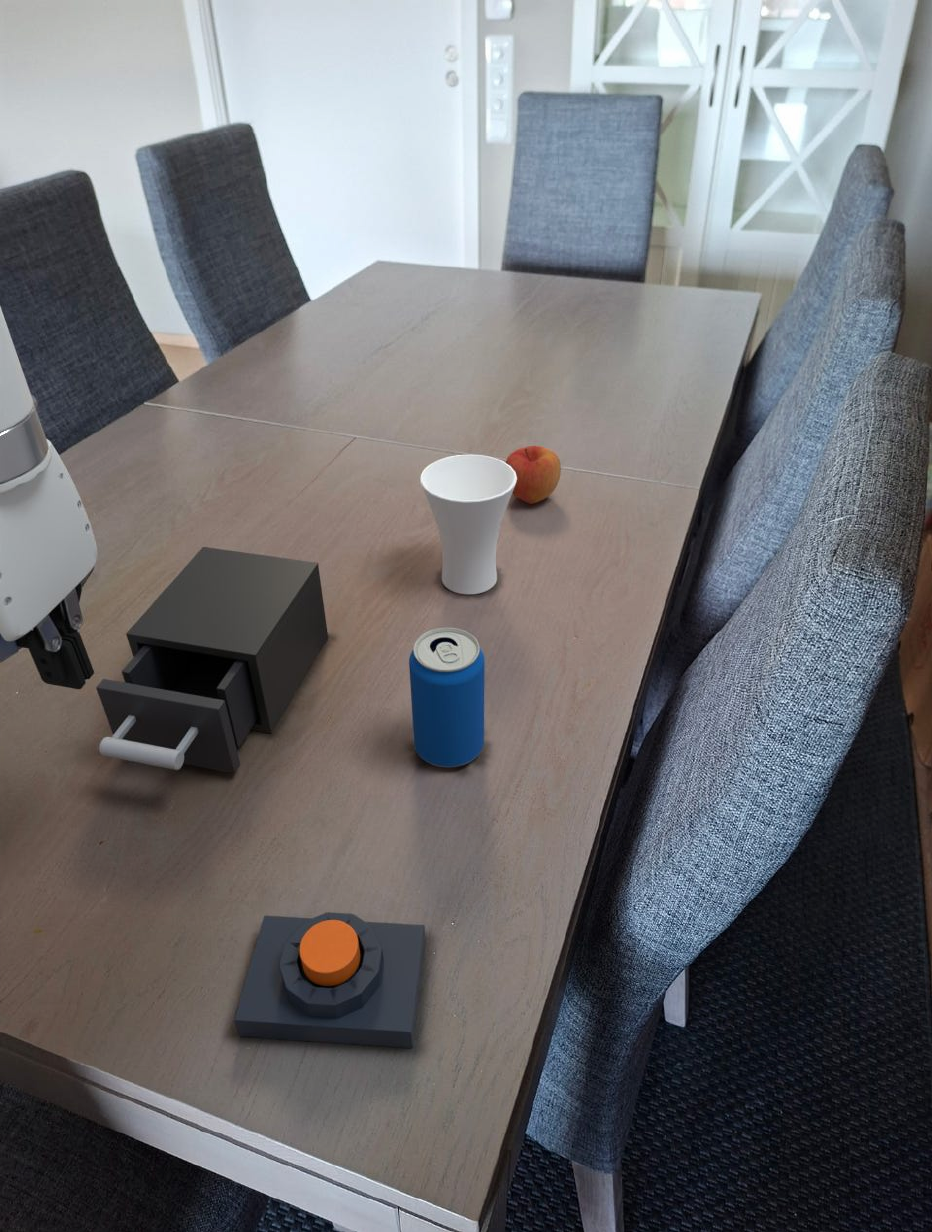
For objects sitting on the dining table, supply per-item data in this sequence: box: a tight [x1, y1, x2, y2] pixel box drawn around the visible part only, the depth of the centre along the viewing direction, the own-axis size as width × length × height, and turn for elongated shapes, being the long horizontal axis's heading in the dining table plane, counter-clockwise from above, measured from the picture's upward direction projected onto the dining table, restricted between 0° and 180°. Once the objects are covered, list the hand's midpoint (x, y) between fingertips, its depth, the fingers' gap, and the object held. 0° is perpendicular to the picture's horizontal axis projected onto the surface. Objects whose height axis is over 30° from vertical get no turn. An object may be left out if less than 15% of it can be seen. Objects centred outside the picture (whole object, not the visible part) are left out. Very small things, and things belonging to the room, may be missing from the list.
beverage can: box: [408, 627, 486, 768], centre depth 78 cm, size 6×6×12 cm
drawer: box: [95, 644, 259, 774], centre depth 80 cm, size 18×12×8 cm, turn 166°
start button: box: [299, 920, 360, 986], centre depth 60 cm, size 4×4×2 cm
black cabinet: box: [125, 546, 329, 734], centre depth 87 cm, size 15×13×10 cm
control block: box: [233, 911, 427, 1049], centre depth 62 cm, size 12×8×4 cm, turn 86°
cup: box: [419, 453, 517, 595], centre depth 98 cm, size 10×10×14 cm
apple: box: [505, 445, 562, 505], centre depth 115 cm, size 7×7×8 cm
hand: (69, 678), depth 62 cm, fingers closed
